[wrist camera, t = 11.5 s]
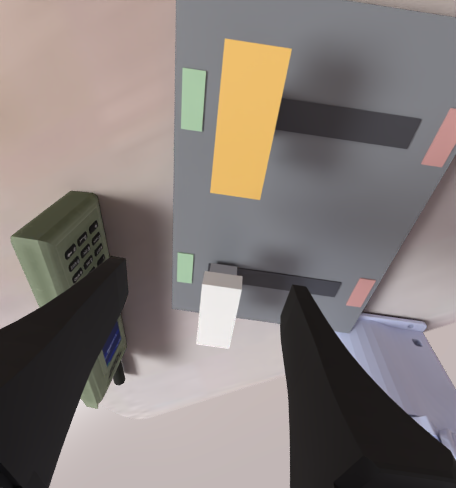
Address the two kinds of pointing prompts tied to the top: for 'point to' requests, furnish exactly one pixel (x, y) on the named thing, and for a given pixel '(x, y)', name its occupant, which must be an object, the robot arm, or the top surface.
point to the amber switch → (247, 116)
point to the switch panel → (313, 150)
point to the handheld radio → (71, 271)
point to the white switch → (218, 305)
